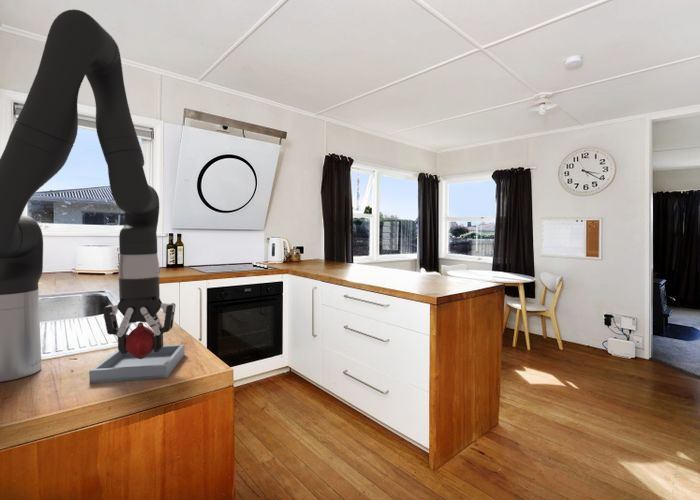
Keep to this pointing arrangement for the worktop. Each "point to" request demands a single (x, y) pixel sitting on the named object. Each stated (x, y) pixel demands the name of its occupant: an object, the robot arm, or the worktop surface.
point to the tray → (137, 365)
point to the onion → (140, 341)
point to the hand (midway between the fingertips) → (141, 351)
